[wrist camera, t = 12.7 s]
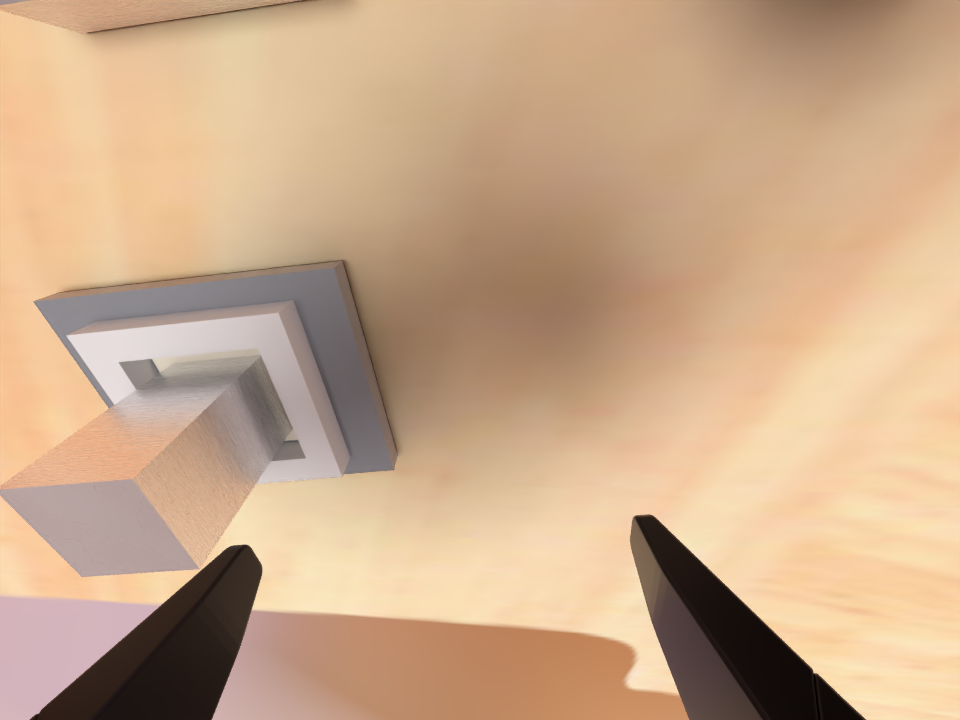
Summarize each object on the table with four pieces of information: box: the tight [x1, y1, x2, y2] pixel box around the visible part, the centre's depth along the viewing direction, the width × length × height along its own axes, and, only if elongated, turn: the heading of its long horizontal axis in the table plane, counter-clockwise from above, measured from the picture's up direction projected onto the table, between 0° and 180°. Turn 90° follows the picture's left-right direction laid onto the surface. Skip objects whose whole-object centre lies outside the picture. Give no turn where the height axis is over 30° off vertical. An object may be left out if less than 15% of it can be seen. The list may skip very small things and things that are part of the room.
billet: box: [0, 355, 293, 577], centre depth 16 cm, size 4×4×8 cm
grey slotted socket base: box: [33, 261, 398, 484], centre depth 20 cm, size 14×12×3 cm
